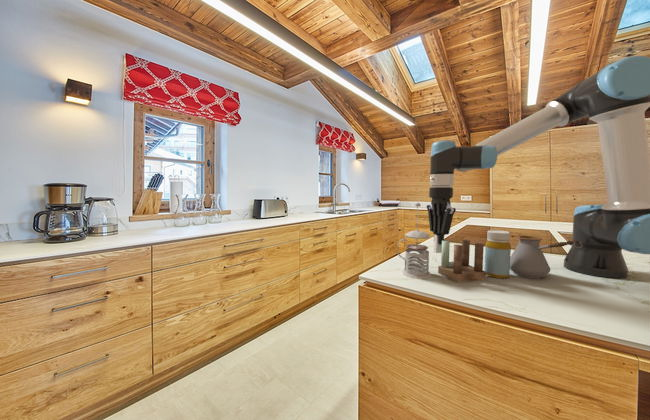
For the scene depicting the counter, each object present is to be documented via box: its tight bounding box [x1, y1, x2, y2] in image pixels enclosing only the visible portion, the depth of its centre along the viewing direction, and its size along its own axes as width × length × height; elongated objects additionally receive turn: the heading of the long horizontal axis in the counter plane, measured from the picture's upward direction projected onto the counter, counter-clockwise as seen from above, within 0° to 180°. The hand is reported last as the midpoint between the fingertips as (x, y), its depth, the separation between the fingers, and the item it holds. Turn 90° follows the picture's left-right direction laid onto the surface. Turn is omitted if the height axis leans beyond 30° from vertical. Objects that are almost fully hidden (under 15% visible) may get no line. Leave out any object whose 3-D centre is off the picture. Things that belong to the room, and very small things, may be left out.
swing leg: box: [440, 239, 454, 267], centre depth 85 cm, size 7×2×9 cm, turn 99°
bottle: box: [483, 229, 512, 279], centre depth 82 cm, size 7×7×15 cm
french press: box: [396, 202, 432, 280], centre depth 85 cm, size 10×12×25 cm
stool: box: [437, 239, 487, 283], centre depth 82 cm, size 11×9×12 cm
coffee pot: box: [510, 235, 582, 279], centre depth 78 cm, size 21×12×15 cm, turn 3°
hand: (438, 252), depth 88 cm, fingers closed
